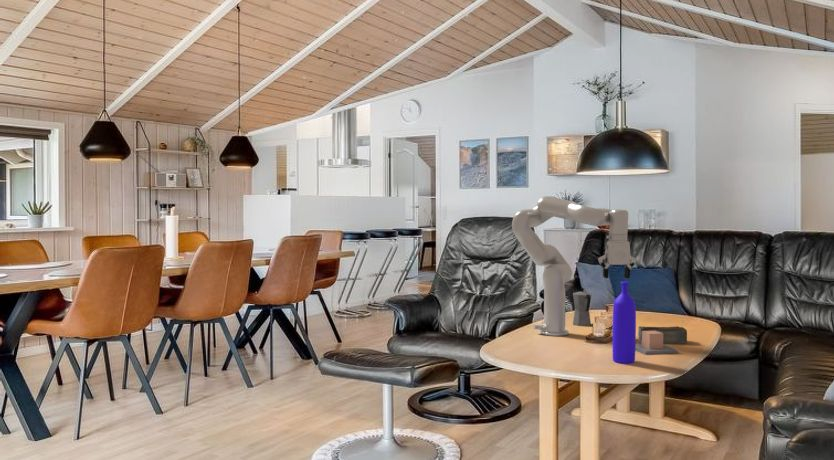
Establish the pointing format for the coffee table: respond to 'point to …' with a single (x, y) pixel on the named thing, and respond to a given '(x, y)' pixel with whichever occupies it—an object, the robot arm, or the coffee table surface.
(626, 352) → the bottle
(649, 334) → the cube
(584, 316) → the coffeepot
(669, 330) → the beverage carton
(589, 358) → the coffee table surface
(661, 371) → the coffee table surface
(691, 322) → the coffee table surface
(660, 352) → the coaster
